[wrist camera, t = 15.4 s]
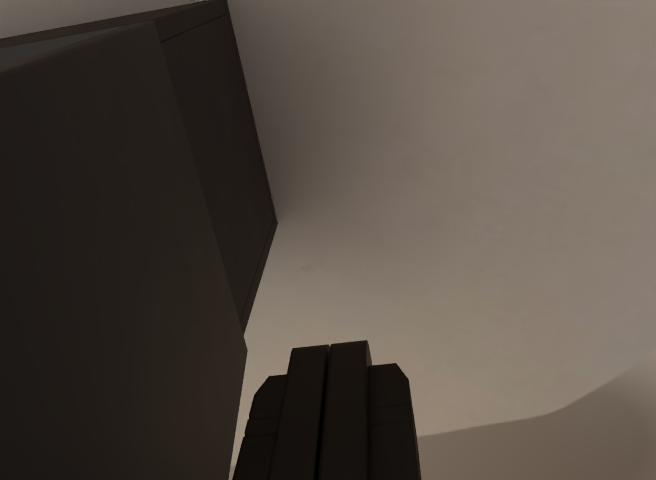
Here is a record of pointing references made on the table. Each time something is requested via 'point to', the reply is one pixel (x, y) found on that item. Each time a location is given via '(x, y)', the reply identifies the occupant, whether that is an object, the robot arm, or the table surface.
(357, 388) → the robot arm
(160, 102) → the bin lid
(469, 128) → the table surface
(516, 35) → the table surface
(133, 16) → the trash bin
